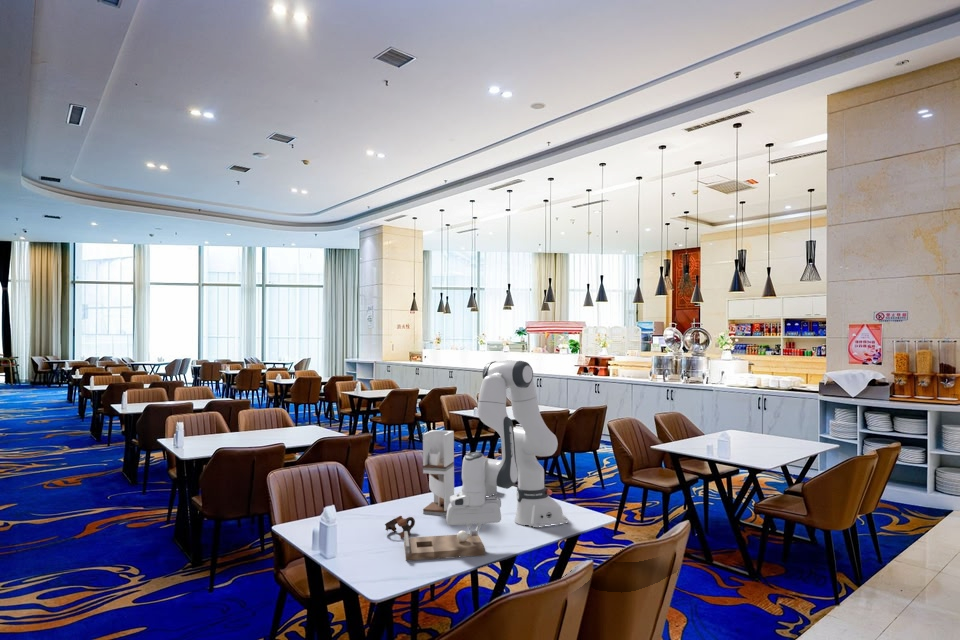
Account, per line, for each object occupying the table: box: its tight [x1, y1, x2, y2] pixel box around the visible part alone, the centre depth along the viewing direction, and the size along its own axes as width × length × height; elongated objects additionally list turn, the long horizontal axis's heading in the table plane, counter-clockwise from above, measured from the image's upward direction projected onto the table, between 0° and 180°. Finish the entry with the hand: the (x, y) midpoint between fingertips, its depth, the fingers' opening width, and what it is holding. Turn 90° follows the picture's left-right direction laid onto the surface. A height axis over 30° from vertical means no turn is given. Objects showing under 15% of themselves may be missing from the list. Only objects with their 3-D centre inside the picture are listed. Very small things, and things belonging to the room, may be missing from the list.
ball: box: [456, 530, 469, 542], centre depth 212 cm, size 4×4×4 cm
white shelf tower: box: [422, 429, 455, 516], centre depth 259 cm, size 11×11×35 cm
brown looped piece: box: [384, 515, 416, 539], centre depth 229 cm, size 12×10×8 cm
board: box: [403, 531, 486, 562], centre depth 211 cm, size 28×16×5 cm, turn 100°
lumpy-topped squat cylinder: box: [485, 484, 498, 497], centre depth 287 cm, size 10×13×9 cm
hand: (473, 535), depth 213 cm, fingers closed
